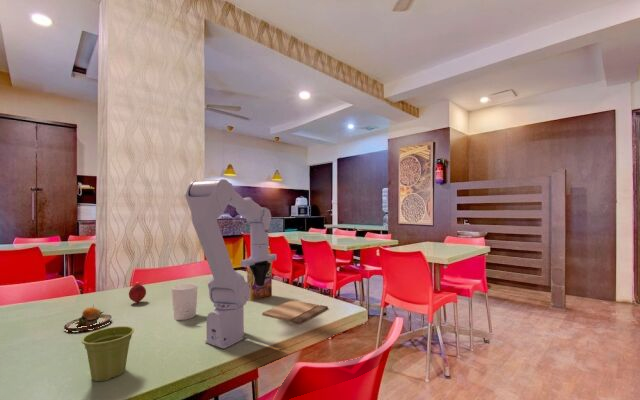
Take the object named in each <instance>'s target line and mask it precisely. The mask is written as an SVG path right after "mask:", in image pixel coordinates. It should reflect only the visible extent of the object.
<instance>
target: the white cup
mask: <svg viewBox="0 0 640 400" xmlns="http://www.w3.org/2000/svg"><path fill="white" fill-rule="evenodd" d="M171 297H172V309H173V310H172V311H173V318H174V320H176V321H185V320H189V319H192V318H194V317H196V315H197V307H198V306H197V305H198V284H196V283H184V284H183V283H182V284H178V285H175V286H173V287H171Z"/></svg>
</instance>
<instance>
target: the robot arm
mask: <svg viewBox="0 0 640 400" xmlns="http://www.w3.org/2000/svg"><path fill="white" fill-rule="evenodd" d="M184 196H185V200H186V202H187V204H188V208H189V210H190V215H191V222H192V225H193V227H194V231H195V233H196V235H197V239H198V241H199V243H200V245H201V248H202V251H203V253H204V256H205V259H206V261H207V262H206V263H207V264H208V267H209V269H210V272H211V275H212V277H211V278H210V279H209V281H208V282H207V287H208V295H209V296H208V297H209V299H210V301H211V303H212V304H213V307H215V309H214V310H212V311H210V312H209V313H208V315H207V317H206V339H205V340H204V342H205V343H206V344H209V345H211V346H214V347H217V348H221V349H227V348H229V347H230V346H232V345H235V344H236V343H239V342H241V341H242V340H244V339H246V338H247V337H245V336H244V335H245V325H244V323H245V321H244V318H245V317H244V316H245V315H244V313H245V312H244V307H245V305H246V304H247V302H249V301H248V299H249V296H250V287H249V285H248V283H247V280H246V279H245V277H244V276H243V275H242V274H241V273H239V272H237V271H236V270H235V269H234V266H233V264H232V260H231V258H230V254H229V252H228V249H227V247H226V244H225V240H224V238H223V233H222V232H221V228H220V225H219V222H218V218H220V217H221V216H222V215H223V214H224V213H225V211H226V210H227V207H228V205H229V206H231V207H233V208H235V211H236V213H237V214H238V215H240V216H241V217H243V219H245V220H246V222H247V224H248V225H250V256H249V257H248V258H246V259H242V260H241V261H240V266H241V268H242V267H243V268H247V267H248V266H249V267H250V269H251V271H252V272H253V275H254V277H255V281H256V284H257V286H263V285H264V282H265V278H266V274H267V272H268V269H269V267H270V266H271V264H270V263H267V261H277V254H276V253H271V254H269V230H270V227H271V225H270V224H271V221H272V213H271V211H270V209H269V208H267V207H262V206H260V204H258V203H256V202H255V201H254V200H253V198H252V197H249V196H247V197H242V196H241V195H240V194H239V193H238V192H237V191H236V190H235V189H234V186H233V184H232V183H231V182H229V180H227V179H223V178H222V179H219V180H215V179H214V180H200V181H199V180H193V181H191V182H190V183H189V185H188V187H187V189H186V192H185V195H184Z"/></svg>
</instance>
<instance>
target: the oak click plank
mask: <svg viewBox="0 0 640 400" xmlns="http://www.w3.org/2000/svg"><path fill="white" fill-rule="evenodd" d="M318 306H320V304H317V303H311V302H305V301H301V300H295V299H291V300H289V301H286V302H284V303H281V304H279V305H277V306H275V307H273V308H270V309H268V310H265V311H263V312H262V313H261V315H262V316H265V317H268V318H273V319H278V320H282V321H286V322H290V323H293V322H292V320H293V319H295V318H297V317H299V316H301V315H302V314H304V313H306V312H308V311H310V310H312V309H314V308H316V307H318Z"/></svg>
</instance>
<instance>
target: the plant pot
mask: <svg viewBox="0 0 640 400" xmlns="http://www.w3.org/2000/svg"><path fill="white" fill-rule="evenodd" d="M134 333H135V328H134V327H132V326H127V325H125V326H124V325H122V326H121V325H120V326H113V327H112V326H111V327H105V328H103V329H97V330H96V331H95V330H94V331H91V333H88V334H86V335H85V336H83V337H82V339H81V344H82V345H83V344H84V349H85V350H86V355H87V360H88V366H89V370H90V371H89V372H90V378H91V379H92V381H95V382H102V381H107V380H109V379H111V378H117V377H119V376H120V375H122V374H123V373H125V372H126V366H127V362H128V361H127V360H128V359H127V358H128V353H129V348H130V341H131V339H132V336H133V334H134Z"/></svg>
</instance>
